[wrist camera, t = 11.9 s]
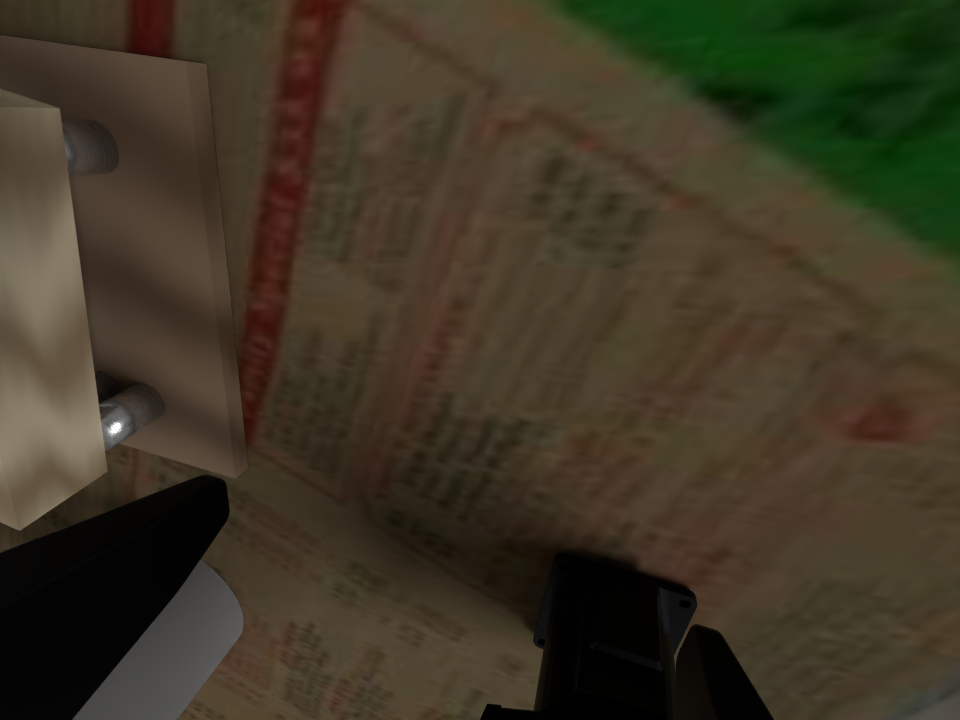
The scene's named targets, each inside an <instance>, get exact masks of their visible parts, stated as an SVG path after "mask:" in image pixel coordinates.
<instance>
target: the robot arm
mask: <svg viewBox="0 0 960 720" xmlns="http://www.w3.org/2000/svg"><path fill="white" fill-rule="evenodd" d="M229 511H230V509H229V501H228V493H227V486H226V483H225V481H224V480H223V479H220V478H217V477H214V476H211V475H201V476H198V477H195V478H193V479H190V480H188V481H185V482H182V483H180V484H177V485H175V486H172V487H169V488H167V489H164V490H161V491H159V492H156V493H154V494H151V495H148V496H146V497H143V498H141V499H138V500H135V501H133V502H130V503H127V504H125V505H122V506H120V507H117V508H114V509H112V510H109V511H106V512H104V513H101V514H99V515H96V516H93V517H91V518H88V519H86V520H83V521H80V522H78V523H75V524H72V525H70V526H67V527H65V528H62V529H59V530H57V531H54V532H52V533H49V534H46V535H44V536H41V537H38V538H36V539H33V540H31V541H28V542H25V543H23V544H20V545H17V546H15V547H12V548H10V549H7V550H4V551H2V552H0V720H72V719H73V718H74V717H75V716H76V715H77V713H78V712H79V711H80V710H81V709H82V707H83V706H84V705H85V704H86V703H87V701H88V700H89V699H90V698H91V697H92V695H93V694H94V693H95V692H96V690H97V689H98V688H99V687H100V686H101V684H102V683H103V682H104V681H105V680H106V678H107V677H108V676H109V675H110V674H111V672H112V671H113V670H114V669H115V667H116V666H117V665H118V664H119V663H120V661H121V660H122V659H123V658H124V657H125V655H126V654H127V653H128V652H129V651H130V649H131V648H132V647H133V646H134V645H135V643H136V642H137V641H138V640H139V638H140V637H141V636H142V635H143V634H144V632H145V631H146V630H147V629H148V628H149V626H150V625H151V624H152V623H153V622H154V620H155V619H156V618H157V617H158V615H159V614H160V613H161V612H162V611H163V609H164V608H165V607H166V606H167V605H168V603H169V602H170V601H171V600H172V598H173V597H174V596H175V595H176V593H177V592H178V591H179V589H180V588H181V587H182V585H183V584H184V583H185V581H186V580H187V578H188V577H189V575H190V574H191V573H192V571H193V570H194V568H195V567H196V565H197V564H198V562H199V561H200V559H201V558H202V556H203V555H204V554H205V552H206V551H207V549H208V548H209V546H210V545H211V543H212V542H213V540H214V539H215V537H216V536H217V534H218V533H219V532H220V530H221V529H222V527H223V526H224V524H225V523H226V521H227V519H228V516H229ZM562 563H563V564H566V565H563V564H562ZM682 600H687V601H682ZM696 608H697V600H696V596H695V594H694V593H693V592H692V591H690V590H688V589H685V588H682V587H678V586H675V585H672V584H668V583H665V582H661V581H658V580H655V579H651V578H648V577H644V576H641V575H638V574H634V573H631V572H627V571H624V570H621V569H617V568H614V567H611V566H607V565H604V564H600V563H597V562H594V561H590V560H587V559H583V558H580V557H577V556H573V555H570V554H566V553H560V554H558V555H556V556H555V558H554V561H553V565H552V569H551V573H550V576H549V580H548V584H547V588H546V591H545V595H544V599H543V603H542V606H541V610H540V614H539V618H538V621H537V625H536V629H535V633H534V638H533V642H534V644H535V645H536V646H537V647H539V648H541V649H544V650H543V656H542V663H541V669H540V675H539V681H538V687H537V693H536V699H535V705H534V711H532V710H521V709H511V708H502V707H501V705H495V704H487V705H486V708H485V710H484V712H483V714H482V716H481V719H480V720H774V719H773V717H772V716H771V714H770V712H769V711H768V709H767V707H766V706H765V704H764V702H763V701H762V699H761V698H760V696H759V694H758V693H757V691H756V689H755V688H754V686H753V685H752V683H751V681H750V680H749V678H748V676H747V675H746V673H745V672H744V670H743V668H742V667H741V665H740V663H739V662H738V660H737V658H736V657H735V655H734V654H733V652H732V650H731V649H730V647H729V645H728V644H727V642H726V641H725V639H724V637H723V636H722V634H721V633H720V632H718V631H717V630H715V629H711V628H708V627H705V626H702V625H698V624H695V625H693V626H692V627H691V628H690V630H689V632H688V634H687V636H686V638H685V640H684V642H683V644H682V647H681V649H680V651H679V653H678V656H677V661H676V675H675V663H674V654H675V652H676V650H677V648H678V646H679V643H680V641H681V639H682V637H683V635H684V633H685V631H686V629H687V627H688V624H689V622H690V620H691V618H692V616H693V614H694V612H695V610H696Z"/></svg>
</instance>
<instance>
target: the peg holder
mask: <svg viewBox="0 0 960 720" xmlns="http://www.w3.org/2000/svg"><path fill="white" fill-rule="evenodd" d="M0 89H3V90H6V91H9V92H13V93H16V94H19V95H22V96H25V97H28V98H31V99H34V100H37V101H40V102H43V103H46V104H49V105H52V106H55V107H58V108H60V114H61V121H62V129H63V137H64V144H65V152H66V159H67V167H68V175H69V182H70V190H71V197H72V205H73V213H74V220H75V228H76V235H77V243H78V251H79V258H80V266H81V273H82V281H83V289H84V296H85V304H86V312H87V319H88V327H89V334H90V342H91V350H92V357H93V365H94V372H95V380H96V388H97V395H98V403H99V410H100V418H101V426H102V433H103V441H104V449H105V451H107V450H109V449H111V448H112V447H114V446H115V445H117V444H122V445H125V446H129V447H132V448H135V449H139V450H142V451H145V452H149V453H152V454H155V455H158V456H162V457H165V458H168V459H172V460H175V461H178V462H181V463H185V464H188V465H191V466H195V467H198V468H201V469H204V470H208V471H211V472H214V473H218V474H221V475H224V476H228V477H231V478H234V479H236V478H237V477H238V476H239V475H241V474H242V473H243V472H244V471H245V470H246V469H247V468H248V461H247V451H246V442H245V432H244V422H243V413H242V403H241V393H240V384H239V374H238V364H237V355H236V345H235V335H234V326H233V316H232V306H231V297H230V287H229V277H228V268H227V258H226V248H225V239H224V229H223V219H222V210H221V200H220V190H219V181H218V171H217V161H216V152H215V142H214V132H213V123H212V113H211V103H210V94H209V84H208V74H207V65H206V64H203V63H196V62H189V61H182V60H175V59H168V58H161V57H153V56H146V55H139V54H132V53H125V52H118V51H111V50H104V49H97V48H90V47H83V46H76V45H69V44H62V43H55V42H48V41H40V40H33V39H26V38H19V37H12V36H5V35H0Z"/></svg>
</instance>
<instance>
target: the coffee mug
mask: <svg viewBox="0 0 960 720" xmlns="http://www.w3.org/2000/svg"><path fill="white" fill-rule="evenodd" d="M243 627H244V621H243V614H242V610H241V607H240V605H239V602H238V600H237V598H236V596H235V595H234V593H233V591H232V590H231V588H230V587H229V586H228V584H227V583H226V582H225V581H224V580H223V579H222V578H221V577H220V576H219V575H218V573H217V572H216V571H215V570H214V569H213V568H211V567H210V566H209V565H208V564H207V563H205V562H204V561H203V560H201V559H200V561H199V562H198V564H197V565H196V567H195V568H194V570H193V571H192V573H191V574H190V575H189V577H188V578H187V580H186V581H185V583H184V584H183V585H182V587H181V588H180V589H179V591H178V592H177V593H176V595H175V596H174V597H173V598H172V600H171V601H170V602H169V603H168V605H167V606H166V607H165V608H164V609H163V611H162V612H161V613H160V614H159V615H158V617H157V618H156V619H155V620H154V622H153V623H152V624H151V625H150V626H149V628H148V629H147V630H146V631H145V632H144V634H143V635H142V636H141V637H140V638H139V640H138V641H137V642H136V643H135V645H134V646H133V647H132V648H131V649H130V651H129V652H128V653H127V654H126V655H125V657H124V658H123V659H122V660H121V661H120V663H119V664H118V665H117V666H116V667H115V669H114V670H113V671H112V672H111V674H110V675H109V676H108V677H107V678H106V680H105V681H104V682H103V683H102V684H101V686H100V687H99V688H98V689H97V690H96V692H95V693H94V694H93V695H92V697H91V698H90V699H89V700H88V701H87V703H86V704H85V705H84V706H83V707H82V709H81V710H80V711H79V712H78V713H77V715H76V716H75V717H74V718H73V719H72V720H177V719H178V718H179V716H180V715H181V714H182V712H183V711H184V710H185V708H186V707H187V706H188V704H189V703H190V702H191V700H192V699H193V698H194V696H195V695H196V694H197V693H198V691H199V690H200V689H201V687H202V686H203V685H204V683H205V682H206V681H207V679H208V678H209V677H210V675H211V674H212V673H213V671H214V670H215V669H216V667H217V666H218V665H219V663H220V662H221V661H222V659H223V658H224V657H225V655H226V654H227V653H228V651H229V650H230V649H231V648H232V646H233V645H234V644H235V642H236V641H237V640H238V638H239V637H240V635H241V633H242V631H243Z"/></svg>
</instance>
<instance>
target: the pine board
mask: <svg viewBox="0 0 960 720" xmlns="http://www.w3.org/2000/svg"><path fill="white" fill-rule="evenodd" d="M106 472H108V471H107V464H106V456H105V449H104V441H103V433H102V426H101V418H100V410H99V403H98V395H97V388H96V380H95V372H94V365H93V357H92V350H91V342H90V334H89V327H88V319H87V312H86V304H85V296H84V289H83V281H82V273H81V266H80V258H79V251H78V243H77V235H76V228H75V220H74V213H73V205H72V197H71V190H70V182H69V175H68V167H67V159H66V152H65V144H64V137H63V129H62V121H61V114H60V108H58V107H55V106H52V105H49V104H46V103H43V102H40V101H37V100H34V99H31V98H28V97H25V96H22V95H19V94H16V93H13V92H9V91H6V90H3V89H0V522H1V523H3V524H6V525H8V526H10V527H12V528H14V529H17V530H19V531H20V530H22V529H23V528H25V527H26V526H28V525H29V524H31V523H32V522H34V521H35V520H37V519H38V518H40V517H41V516H43V515H44V514H45V513H47V512H48V511H50V510H51V509H53V508H54V507H56V506H57V505H59V504H60V503H62V502H63V501H65V500H66V499H68V498H69V497H71V496H72V495H74V494H75V493H77V492H78V491H80V490H81V489H83V488H84V487H86V486H87V485H88V484H90V483H91V482H93V481H94V480H96V479H97V478H99V477H100V476H102V475H103V474H105V473H106Z"/></svg>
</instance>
